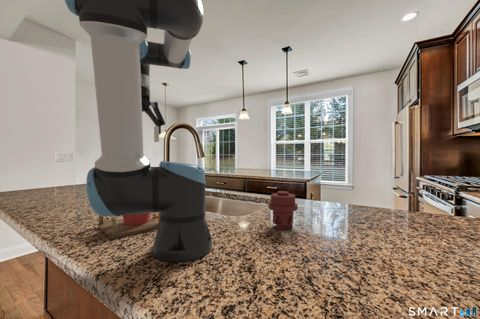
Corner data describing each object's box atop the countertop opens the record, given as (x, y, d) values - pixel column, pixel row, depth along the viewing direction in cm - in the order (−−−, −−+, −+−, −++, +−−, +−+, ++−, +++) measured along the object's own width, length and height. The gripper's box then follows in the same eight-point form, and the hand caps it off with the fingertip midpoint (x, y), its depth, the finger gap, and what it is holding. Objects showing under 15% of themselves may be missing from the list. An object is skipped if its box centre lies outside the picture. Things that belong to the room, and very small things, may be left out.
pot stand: (163, 227, 78) (163, 209, 78) (112, 239, 66) (112, 218, 66) (144, 218, 89) (144, 202, 89) (98, 227, 78) (98, 209, 77)
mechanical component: (268, 222, 83) (295, 223, 82) (268, 231, 73) (299, 232, 72) (268, 189, 83) (295, 189, 82) (268, 194, 73) (300, 194, 72)
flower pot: (145, 227, 74) (144, 198, 73) (112, 227, 74) (112, 198, 74) (157, 218, 84) (157, 192, 84) (129, 218, 85) (129, 192, 84)
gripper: (164, 95, 100) (165, 142, 100) (100, 82, 82) (101, 140, 82) (173, 91, 94) (173, 142, 95) (106, 77, 76) (107, 139, 77)
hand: (140, 141), depth 88 cm, fingers open, 13 cm apart
